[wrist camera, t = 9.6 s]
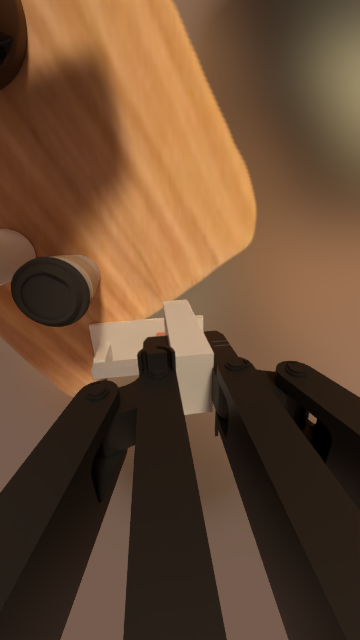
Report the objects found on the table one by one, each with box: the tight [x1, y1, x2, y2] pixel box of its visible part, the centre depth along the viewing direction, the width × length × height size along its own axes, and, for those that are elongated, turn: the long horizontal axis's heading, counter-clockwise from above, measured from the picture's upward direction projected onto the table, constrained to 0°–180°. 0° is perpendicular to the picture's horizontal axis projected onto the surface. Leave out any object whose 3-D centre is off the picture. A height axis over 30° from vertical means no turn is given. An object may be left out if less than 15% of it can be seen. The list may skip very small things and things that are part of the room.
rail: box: [89, 315, 203, 379], centre depth 43 cm, size 11×22×10 cm, turn 92°
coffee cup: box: [11, 254, 100, 327], centre depth 34 cm, size 9×9×15 cm
